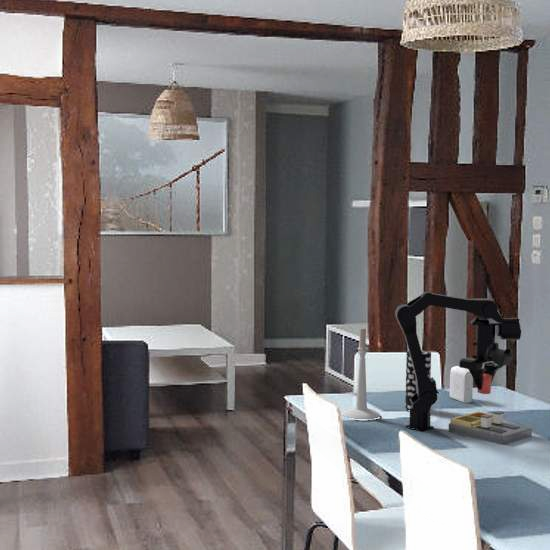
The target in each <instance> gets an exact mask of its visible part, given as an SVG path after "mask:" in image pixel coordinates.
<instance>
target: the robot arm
mask: <svg viewBox="0 0 550 550" xmlns="http://www.w3.org/2000/svg"><path fill="white" fill-rule="evenodd" d="M430 306H434V307H440V308H446V309H452V310H457V311H463V312H468V313H471V314H473V315H475V316H474V318H473V319H472V320H471V321H469V324H471V325H473V326H476V333H475V337H476V339H475V341H473V343H472V346H475V354H472V357H470V356H469V357H463V358H460V359H459V361H458V362H459V363H458V364H459V365H458V366H459V367H460V368H466V369H469V371H470V373H471V375H472V377H473V382H474V383H475V386H476V388H477V390H478V389H479V390H481V389H482V383H483V374H489V375H492V380H491V384H493V381H494V378H495V376H496V373H497V371H498V370H500V369H501V368H503V367H504V366H509V365H510V364H511V363H510V362H511V361H513V360H514V350H513V349H511V348H505V349H500V348H499V343H498V342H496V337H499V339H500V340H503V341H504V340H507V341H508V340H511V341H513V340H514V341H515V340H516V341H520V340H521V336H522V329H521V323H520V318H518V317H511V318H510V317H508V318H507V317H506V318H505V317H502V315H501V314H500V313H499V311H498V309H499V307H498V305H497V303H496V302H495V301H494V300H492V299H489V298H483V297H481V298H479V297H478V298H476V297H475V298H463V297H458V296H457V297H456V296H450V295H446V294H438V293H432V292H430V291H424V292H422V293H421V294H420V295H419V296H416V297H415V298H413V299H412V300H410V301H409V302H407V303H406V304H405V303H404V304H400V305H398V306H397V307H396V309H395V311H394V315H395V318H396V320H397V323H398V325H399V327H400V329H401V330H402V333H403V336H404V339H405V342H406V346H407V349H408V351H409V354H410V357H411V361H412V365H413V369H414V372H415V377H416V394H414V395H413V396H412V397H411V398H410V399H409V400H410V403H411V405H412V407H411V409H410V412H409V424H406V425H405V427H406V426H407V427H410V428H409V429H411V428H414V429H413V430H415V429H417V430H416V431H419V430H420V432H422V431H427V430H431V429H433V428H435V427H434V425H431V408H432V406H433V405H435V403H437V401H438V395H439V394H440V393H439V391H438V389H437V388H438V387H437V382H436V379H434V378H435V377H431V378H429V376H428V374H427V370H426V366H425V363H424V359H423V355H422V351H423V350H422V349H421V345H420V340H419V338H418V337H419V336H418V334H417V332H418V331H417V330H418V329H417V316H419V315H420V314H421V313H422V312H423V311H425V310H426V309H427V308H428V307H430ZM477 316H479V317H481V318H482V319H479V317H477ZM489 319H491V320H493V321H494V322H491V321H490V320H489ZM407 427H406V428H407Z"/></svg>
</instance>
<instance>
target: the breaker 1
mask: <svg viewBox="0 0 550 550" xmlns="http://www.w3.org/2000/svg"><path fill="white" fill-rule="evenodd" d="M487 414H488V413H487ZM487 414H485V415H481V427H485V428H488V427H491V417H492V415H493V414H492V415H487Z"/></svg>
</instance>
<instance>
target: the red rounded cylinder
mask: <svg viewBox="0 0 550 550" xmlns="http://www.w3.org/2000/svg"><path fill="white" fill-rule="evenodd" d="M491 380H492V375H489V374H483V383H482V389H481V390H479V389H478V388H477V393H478V394H482V395H490V394H491V391H492V383H491Z"/></svg>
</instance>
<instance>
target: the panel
mask: <svg viewBox="0 0 550 550" xmlns="http://www.w3.org/2000/svg"><path fill="white" fill-rule="evenodd" d="M485 414H487V415H492V417H491V427H488V428H485V427H481V415H485ZM493 415H494V414H490V413H487V412H486V413H485V412H482V411H475V412H471V413H467V414H464V415H459V416H455V417H452V418H450V423H448V433H449V432H450V433H453V434H457V435H461V436H462V435H463V436H465V437H470V438H474V439H478V440H481V441H485V442H486V441H487V442H490V443H495V444H499V445H507V444H510V443H513V441H514V442H517V441H520V440H523V439H525V438H526V437H527V438H529V436H530V437H532V436H533V427H530V426H527V425H520V424H517V423H511V422H506V421H503V423H501V424H497V423H493Z"/></svg>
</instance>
